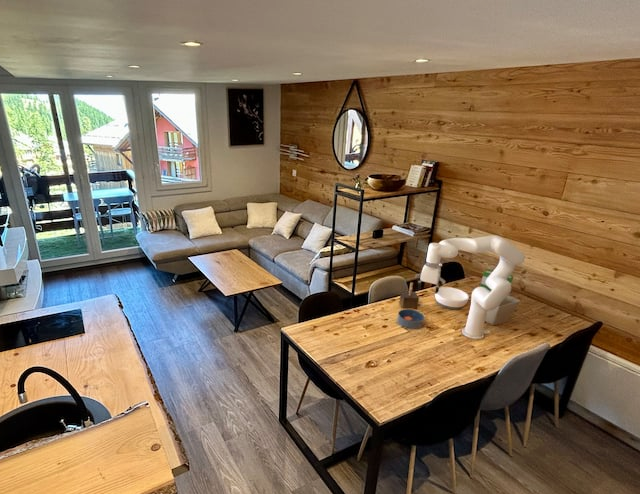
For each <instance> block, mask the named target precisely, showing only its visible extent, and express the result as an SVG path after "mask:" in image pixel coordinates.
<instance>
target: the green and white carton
mask: <svg viewBox="0 0 640 494" xmlns="http://www.w3.org/2000/svg"><path fill="white" fill-rule="evenodd" d="M493 271H494V270H491V269H487V268H485V271H483V273H482V278H481V281H480V286H479V287H484V288H486V289H488V290H491V289H490V288H489V287H488V286H487V285H486V283H485V281H486V279H487V278H488V276H489V275H490V274H491V273H492V272H493ZM514 277H515V276H514V275H513V274H511V275H510V276H509V277H508V279H507V281H509V282H510V284H511V285H512V282H513V279H514Z"/></svg>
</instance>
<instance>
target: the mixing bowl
mask: <svg viewBox="0 0 640 494" xmlns="http://www.w3.org/2000/svg"><path fill="white" fill-rule="evenodd" d="M408 316H409V317H411V318H412V319H413V321H409V320H406V319H404V317H408ZM396 322H397V324H398V325H399V326H401V327H403V328H405V329H409V330H418V329H421V328H423V327H424V323H425V316H424V314H423V313H421V312H420V311H417V310H416V309H407V308H403V309H400V310H399V311H398V312H397V319H396Z"/></svg>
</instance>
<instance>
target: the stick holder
mask: <svg viewBox="0 0 640 494" xmlns="http://www.w3.org/2000/svg"><path fill="white" fill-rule="evenodd" d="M419 300H420V298H419V296H418V294H417V292H416V291H412V293H411V296H409V290H408V291H406V290H400V295H399V302H398V303H399V305H400V307H401V309H410V310H418V306H419Z"/></svg>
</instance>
